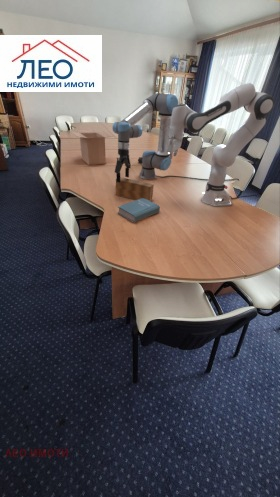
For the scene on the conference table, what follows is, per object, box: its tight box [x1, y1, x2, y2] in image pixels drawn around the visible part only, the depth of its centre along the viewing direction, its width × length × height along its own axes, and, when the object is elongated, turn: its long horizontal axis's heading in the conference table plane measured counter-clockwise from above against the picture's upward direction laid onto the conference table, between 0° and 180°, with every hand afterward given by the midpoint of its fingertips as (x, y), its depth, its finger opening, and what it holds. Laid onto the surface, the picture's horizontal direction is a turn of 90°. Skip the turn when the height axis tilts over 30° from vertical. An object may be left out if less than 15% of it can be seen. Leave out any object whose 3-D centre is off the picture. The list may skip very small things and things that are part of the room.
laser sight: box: [137, 156, 142, 165], centre depth 237 cm, size 10×22×10 cm, turn 78°
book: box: [117, 198, 161, 223], centre depth 145 cm, size 23×16×5 cm
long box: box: [115, 176, 155, 202], centre depth 163 cm, size 28×6×12 cm, turn 66°
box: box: [70, 129, 114, 166], centre depth 229 cm, size 44×36×27 cm
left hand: (122, 179), depth 162 cm, fingers open, 13 cm apart
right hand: (172, 157), depth 148 cm, fingers open, 8 cm apart
